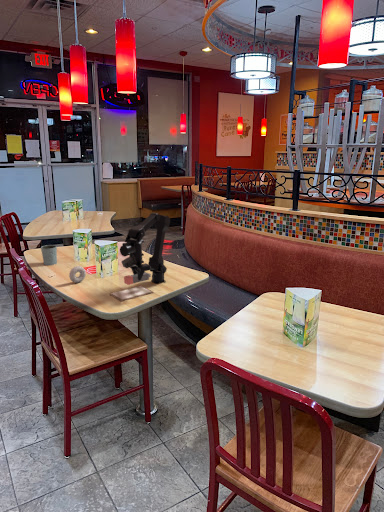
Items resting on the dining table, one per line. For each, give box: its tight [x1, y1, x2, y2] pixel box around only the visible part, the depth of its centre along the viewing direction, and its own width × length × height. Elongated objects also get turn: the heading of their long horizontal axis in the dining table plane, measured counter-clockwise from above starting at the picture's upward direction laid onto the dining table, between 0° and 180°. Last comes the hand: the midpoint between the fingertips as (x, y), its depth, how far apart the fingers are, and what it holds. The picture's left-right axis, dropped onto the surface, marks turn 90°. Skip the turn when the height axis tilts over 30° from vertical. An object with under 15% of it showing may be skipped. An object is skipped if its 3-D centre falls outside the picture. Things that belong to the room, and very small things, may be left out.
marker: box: [123, 271, 152, 286], centre depth 208 cm, size 15×4×4 cm, turn 128°
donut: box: [68, 265, 86, 284], centre depth 223 cm, size 10×3×10 cm, turn 133°
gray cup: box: [40, 244, 58, 266], centre depth 259 cm, size 10×10×12 cm
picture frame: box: [109, 285, 155, 302], centre depth 208 cm, size 20×13×1 cm, turn 128°
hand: (137, 279), depth 208 cm, fingers closed on marker, 4 cm apart
